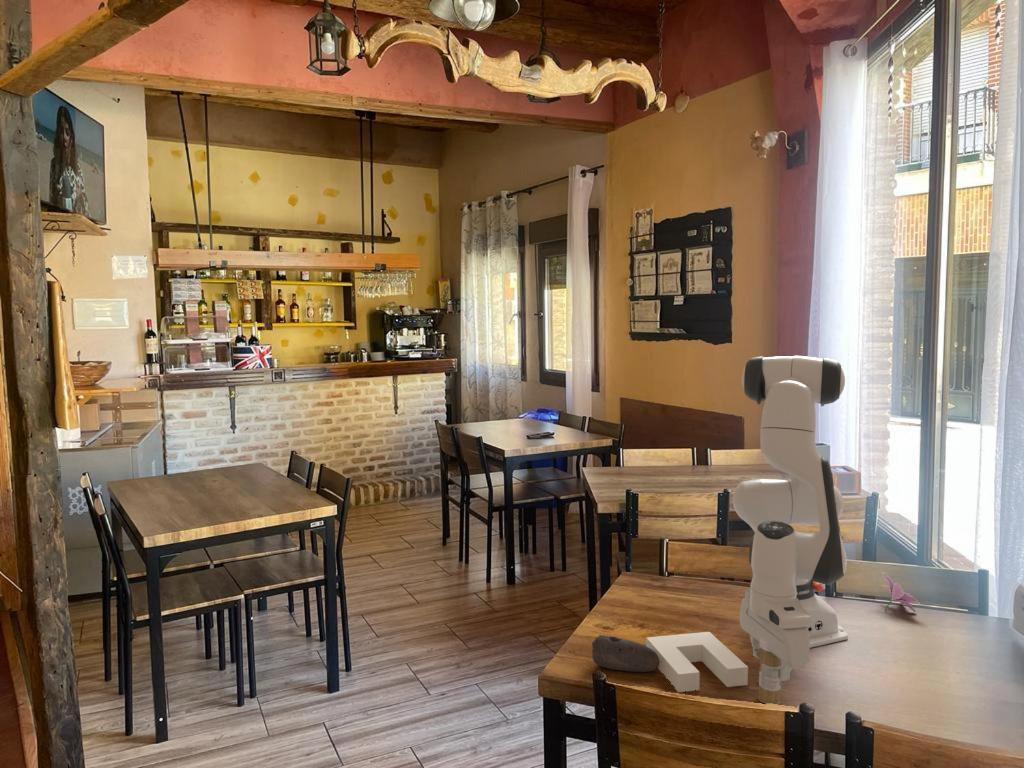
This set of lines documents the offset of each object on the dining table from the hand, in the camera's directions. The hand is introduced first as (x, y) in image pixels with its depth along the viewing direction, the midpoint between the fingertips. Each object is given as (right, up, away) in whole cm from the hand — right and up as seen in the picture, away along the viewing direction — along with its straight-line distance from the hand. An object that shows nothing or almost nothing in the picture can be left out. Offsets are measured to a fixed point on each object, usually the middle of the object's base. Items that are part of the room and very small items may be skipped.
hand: (770, 668), depth 148 cm
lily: (+51, -3, +47) cm, 69 cm away
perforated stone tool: (-28, -6, +14) cm, 32 cm away
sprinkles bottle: (0, -7, +1) cm, 7 cm away
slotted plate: (-12, -6, +15) cm, 20 cm away
